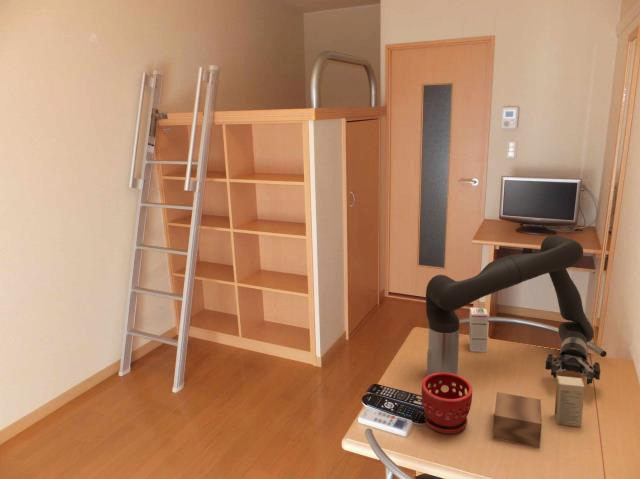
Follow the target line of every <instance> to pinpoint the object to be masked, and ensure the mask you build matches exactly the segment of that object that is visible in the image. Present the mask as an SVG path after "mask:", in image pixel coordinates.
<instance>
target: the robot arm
mask: <svg viewBox="0 0 640 479" xmlns="http://www.w3.org/2000/svg"><path fill="white" fill-rule="evenodd" d="M583 255H584V248H583V246H582V245H581V244H580V243H579V242H578V241H576V240H574V239H572V238H569V237H566V236H565V237H564V236H561V235H559V234H558V235H557V234H551V235H547V236H546V237H545V238H544V239H543V240H542V242H541V245H540V252H531V253H530V252H529V253H528V252H527V253H517V254H511V255H506V256H503V257H500V258H496V259H495V260H492V261H491V262H489V263H488V264H487V265H485V267H484V268H483V269H482V270H481V271H480V272H479V273H478V274H477V275H475V276H473V277H469V278H467V279H463V280H458V281H456V280H454V279H453V278H451V277H450V276H447V275H444V274H437V275H435V276H433V277H432V278H431V279H430V280H429V282H428V283H427V284H426V285H427V286H426V288H425V289H426V290H425V311H426V312H425V313H426V319H427V321H428V341H427V342H428V345H427V351H426V377H427V376H429V375H431V374H434V373H442V372H444V373H452V374H455V375H458V376H459V374H458V373H459V370H458V369H459V350H460V349H459V346H460V345H459V343H460V319H459V317H458V315H457V313H456V310H459V309H462V308H464V307H465V306H468V305H469V304H471V303H473V302H476V301H478V300H479V299H482V298H484V297H487V296H489V295H492V294H494V293H497V292H499V291H502V290H506V289H508V288H511V287H514V286H516V285H519V284H522V283H524V282H526V281H528V280H533V279H535V278H538V277H541V276H543V275H546V274H548V275H549V278H550V280H551V282H552V285H553V288H554V291H555V294H556V298H557V303H558V308H559V314H560V316H561V318H562V319H563V320H566V321H564V322H561V323H560V324H559V326H558V335H559V337H560V339H561V342H562V344H561V347H560V351H559V356H558V357H556V356H554V355H553V354H552V353H548V354H547V357H546V359H545V370H547V371H549V370H550V371H551V372H550V375H551V377H552V376H553V378H554V379H557V373H558V372H560V373H561V372H564V371H569V372H574V373H578V374H580V375H581V376H582V377H586V385H592V384H593V380H594V379H595V380H597V381H599V380H600V378H601V367H600V366H601V365H600V363H599V362H597V361H595V362H594V363H589V362H588V343H590V342H591V341H592V340H593V338H594V336H595V331H594V329H593V327H592V324H591V323H590V321H589V319H588V318H587V316H586V314H585V311H584V307H583V301H582V297H581V294H580V292H579V290H578V287H577V286H576V284H575V282H574V281H573V279H572V278H571V276H570V275H569V272H568V270H567V269H569V268H570V269H571V268H572V267H574V266H576V265H577V264H578V263H580V261H581V260H582V257H583ZM439 383H442V381H439ZM453 383H454V382H452V384H453Z"/></svg>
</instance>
